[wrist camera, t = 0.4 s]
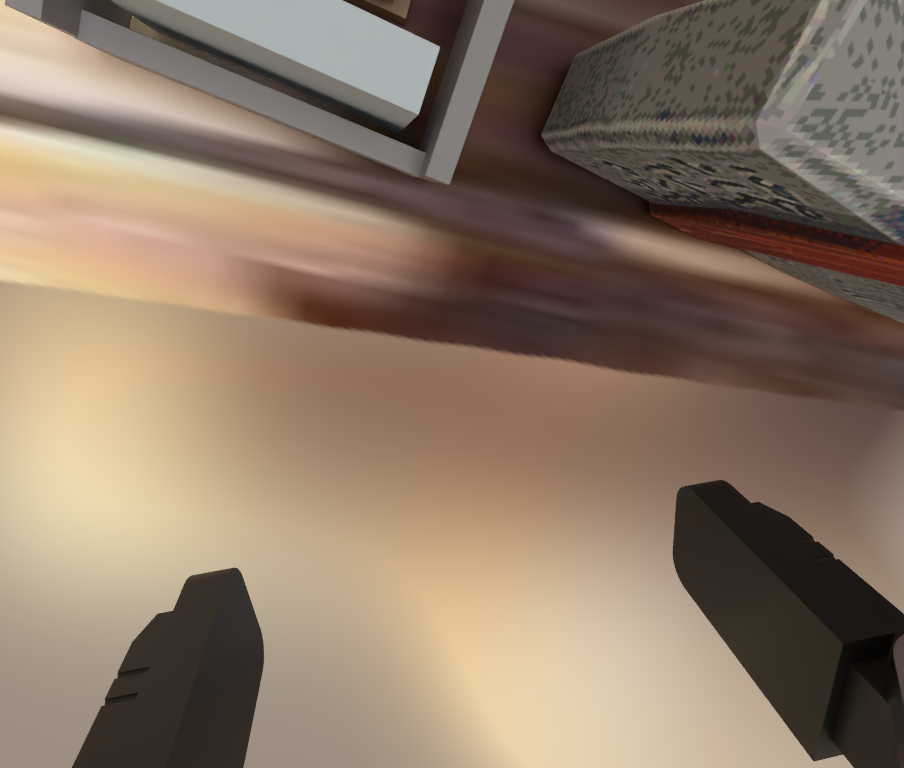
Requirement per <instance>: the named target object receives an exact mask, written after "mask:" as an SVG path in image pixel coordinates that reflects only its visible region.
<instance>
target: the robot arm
mask: <svg viewBox="0 0 904 768" xmlns="http://www.w3.org/2000/svg"><path fill="white" fill-rule="evenodd" d="M673 560H674V565H675V568H676V572H677V574H678V577H679V579H680V581H681V583H682V584H683V586H684V588H685V589H686V590H687V592H688V593H689V594H690V596H691V597H692V598H693V600H694V601H695V602H696V603H697V605H698V606H699V608H700V609H701V611H702V612H703V613H704V615H705V616H706V617H707V619H708V620H709V621H710V623H711V624H712V625H713V626H714V628H715V629H716V630H717V632H718V633H719V635H720V636H721V637H722V639H723V640H724V641H725V643H726V644H727V645H728V647H729V648H730V650H731V651H732V652H733V654H735V656H736V658H737V659H738V660H739V661H740V663H741V664H742V666H743V667H744V668H745V670H746V671H747V672H748V674H749V675H750V676H751V678H752V679H753V680H754V682H755V683H756V685H757V686H758V687H759V689H760V690H761V691H762V693H763V694H764V695H765V697H766V698H767V699H768V700H769V702H770V703H771V705H772V706H773V707H774V709H775V710H776V711H777V713H778V714H779V715H780V717H781V718H782V719H783V721H784V722H785V724H786V725H787V726H788V728H789V729H790V730H791V732H792V733H793V734H794V736H795V737H796V738H797V739H798V741H799V742H800V744H801V745H802V746H803V747H804V749H805V750H806V752H807V753H808V754H809V756H810V757H811V759H812V760H813V761H817V760H822V759H826V758H830V757H834V756H838V755H844V756H845V757H846V758H847V760H848V761H849V762H850V763H851V765H852V766H853V767H854V768H904V614H903V613H902V612H901V611H900V610H898V609H897V608H896V607H895V606H894V605H892V604H891V603H890V602H889V601H887V599H885V598H884V597H883V596H882V595H881V594H879V593H878V592H877V591H876V590H875V589H874V588H872V587H871V586H870V585H869V584H868V583H866V582H865V581H864V580H863V579H862V578H860V577H859V576H858V575H857V574H856V573H855V572H853V571H852V570H851V569H850V568H849V567H848V566H846V565H845V564H844V563H843V562H842V561H840V560H839V559H837V560H836V559H835V558H834V556H833V554H832V553H831V552H830V551H829V550H827V549H826V548H825V547H824V546H823V545H822V544H820V543H819V542H815V541H814V540H813V537H812V536H811V535H810V534H809V533H807V532H806V531H805V530H804V529H803V528H802V527H800V526H799V525H798V524H797V523H796V522H794V521H793V520H792V519H791V518H790V517H788V516H786V515H784V514H782V513H780V512H778V511H776V510H774V509H772V508H770V507H768V506H765V505H764V504H762V503H760V502H755V503H750V502H749V501H748V500H747V499H746V498H745V497H744V496H743V495H741V494H740V493H739V492H738V491H737V490H736V489H735V488H734V487H733V486H731V485H730V484H729V483H728V482H726V481H723V480H717V481H712V482H706V483H701V484H695V485H690V486H685V487H681V488H680V489H679V491H678V493H677V499H676V513H675V527H674V541H673ZM263 664H264V646H263V638H262V633H261V629H260V626H259V624H258V621H257V618H256V615H255V612H254V609H253V606H252V603H251V600H250V597H249V594H248V591H247V588H246V585H245V582H244V579H243V577H242V574H241V572H240V571H239V569H237V568H231V569H225V570H219V571H214V572H208V573H203V574H198V575H192V576H190V577H189V578H188V579H187V580H186V582H185V584H184V586H183V589H182V591H181V594H180V596H179V598H178V600H177V603H176V605H175V608H174V610H173V611H170V612H165V613H159V614H157V615H156V616H155V617H154V619H153V620H152V621H151V622H150V623H149V624H148V625H147V626H146V627H145V629H144V630H143V631H142V632H141V633H140V634H139V635H138V637H136V639H135V640H134V641H133V642H132V644H131V646H130V648H129V650H128V652H127V654H126V656H125V658H124V660H123V662H122V665H121V667H120V669H119V671H118V678H117V679H114V681H113V684H112V685H111V688H110V689H109V692H108V694H107V696H106V698H105V705H104V706H102V707H101V709H100V710H99V712H98V715H97V717H96V719H95V721H94V723H93V725H92V727H91V729H90V731H89V733H88V735H87V737H86V739H85V742H84V744H83V746H82V748H81V750H80V752H79V754H78V756H77V758H76V760H75V762H74V765H73V766H72V768H243V766H244V762H245V757H246V752H247V747H248V742H249V736H250V732H251V727H252V722H253V716H254V712H255V707H256V702H257V697H258V692H259V687H260V681H261V677H262V672H263Z"/></svg>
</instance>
